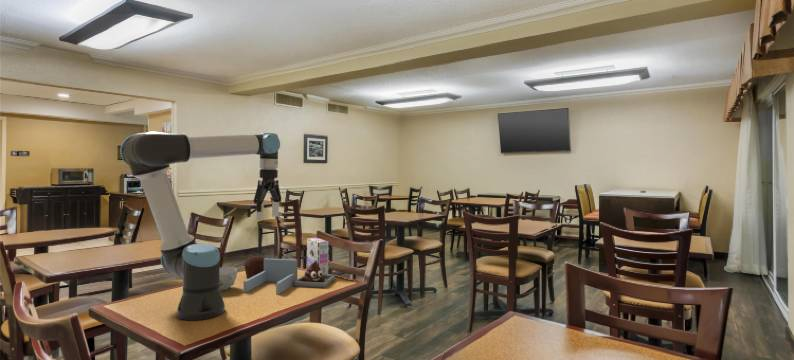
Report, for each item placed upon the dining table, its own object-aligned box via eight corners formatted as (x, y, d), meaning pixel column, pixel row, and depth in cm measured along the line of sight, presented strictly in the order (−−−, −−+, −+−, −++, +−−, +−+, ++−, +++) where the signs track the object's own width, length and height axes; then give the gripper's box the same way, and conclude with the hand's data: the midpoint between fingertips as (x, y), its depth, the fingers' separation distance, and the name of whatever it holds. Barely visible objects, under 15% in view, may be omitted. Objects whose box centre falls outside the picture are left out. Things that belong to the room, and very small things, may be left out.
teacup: (199, 289, 176) (199, 270, 176) (226, 283, 187) (226, 265, 186) (219, 296, 168) (219, 276, 168) (247, 289, 178) (247, 270, 178)
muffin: (274, 276, 199) (274, 255, 199) (255, 281, 190) (255, 259, 189) (257, 273, 205) (257, 252, 205) (238, 278, 196) (238, 256, 195)
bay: (278, 294, 171) (278, 269, 171) (243, 292, 174) (243, 267, 173) (297, 281, 190) (297, 259, 190) (265, 280, 192) (265, 258, 192)
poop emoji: (320, 278, 195) (320, 257, 195) (328, 282, 188) (328, 261, 187) (299, 281, 189) (299, 260, 189) (306, 285, 182) (306, 264, 182)
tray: (324, 288, 180) (324, 283, 180) (293, 286, 183) (293, 281, 183) (335, 279, 194) (335, 275, 194) (306, 278, 197) (306, 273, 196)
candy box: (329, 275, 202) (329, 241, 202) (317, 277, 199) (317, 242, 198) (317, 269, 213) (317, 237, 213) (306, 271, 210) (306, 238, 210)
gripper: (262, 168, 170) (261, 221, 170) (289, 169, 194) (288, 215, 195) (245, 168, 171) (244, 220, 172) (274, 169, 196) (273, 215, 196)
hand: (267, 218), depth 183 cm, fingers open, 13 cm apart
